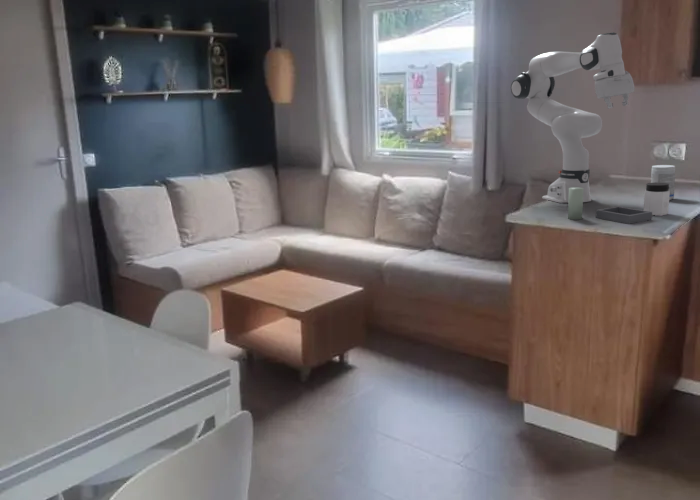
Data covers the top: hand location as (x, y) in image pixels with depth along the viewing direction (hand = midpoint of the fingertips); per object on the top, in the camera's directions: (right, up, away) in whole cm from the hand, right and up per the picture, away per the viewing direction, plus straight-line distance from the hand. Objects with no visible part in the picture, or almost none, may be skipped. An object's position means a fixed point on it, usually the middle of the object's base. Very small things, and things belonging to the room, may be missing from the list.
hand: (618, 106), depth 266 cm
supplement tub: (+30, -36, +25) cm, 53 cm away
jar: (+12, -44, -7) cm, 46 cm away
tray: (-3, -46, -13) cm, 48 cm away
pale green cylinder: (-20, -46, -8) cm, 51 cm away
